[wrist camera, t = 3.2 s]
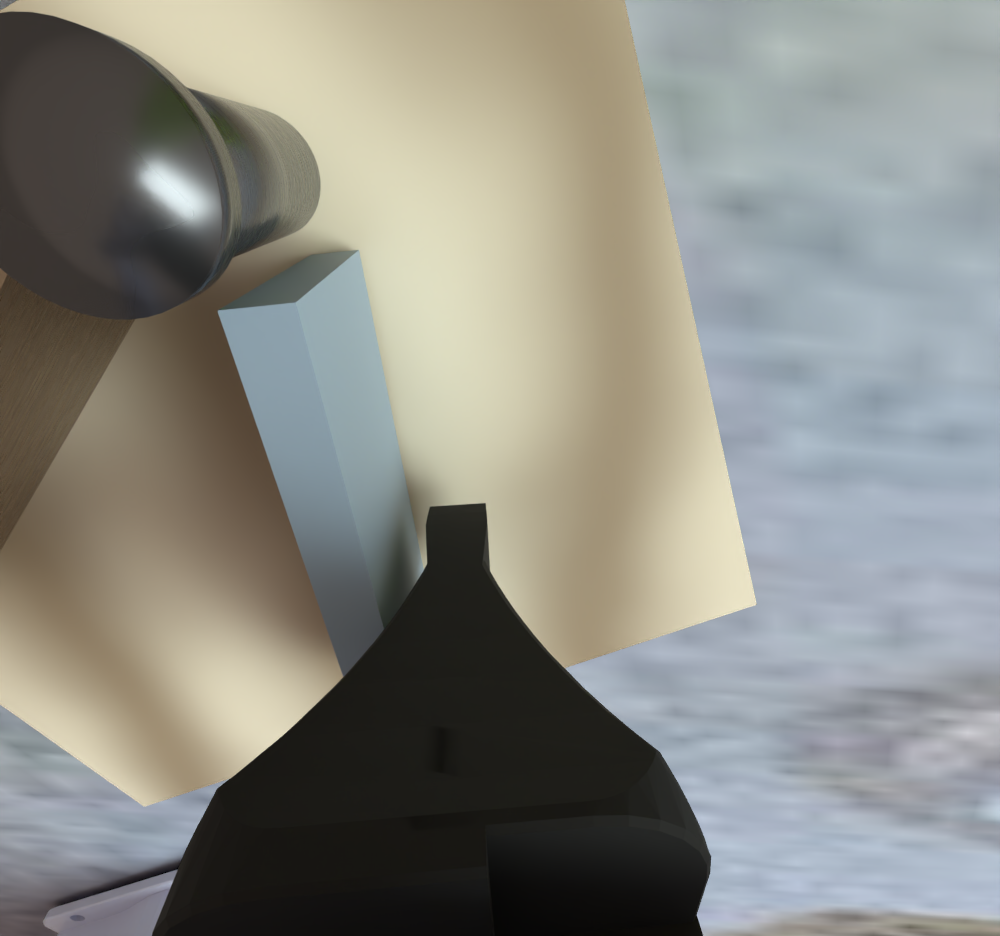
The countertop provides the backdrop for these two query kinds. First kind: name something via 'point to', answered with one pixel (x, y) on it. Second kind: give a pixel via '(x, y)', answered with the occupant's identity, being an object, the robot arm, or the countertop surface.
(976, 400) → the countertop surface
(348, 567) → the slate bar
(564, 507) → the maple board
